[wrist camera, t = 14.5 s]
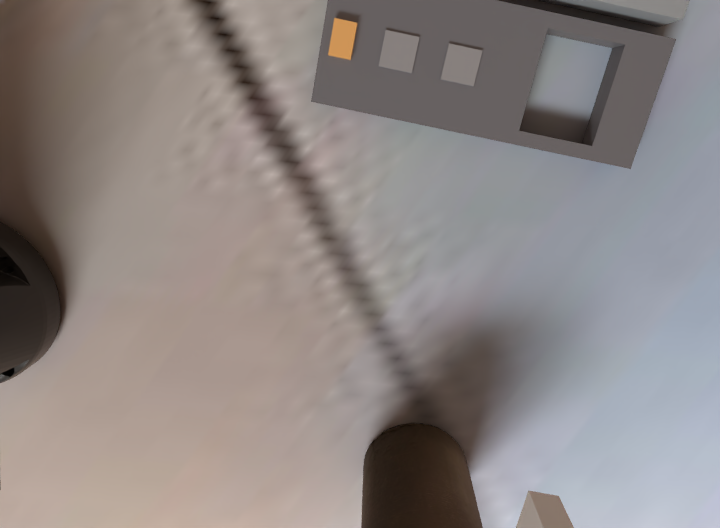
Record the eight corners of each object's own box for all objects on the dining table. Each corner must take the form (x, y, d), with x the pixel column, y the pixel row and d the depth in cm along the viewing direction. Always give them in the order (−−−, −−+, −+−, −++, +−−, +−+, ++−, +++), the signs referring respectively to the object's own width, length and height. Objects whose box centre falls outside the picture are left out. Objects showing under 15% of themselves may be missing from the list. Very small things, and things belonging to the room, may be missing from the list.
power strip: (314, 102, 39) (310, 101, 37) (336, -28, 37) (333, -38, 34) (618, 165, 40) (634, 169, 37) (660, 42, 37) (680, 37, 35)
